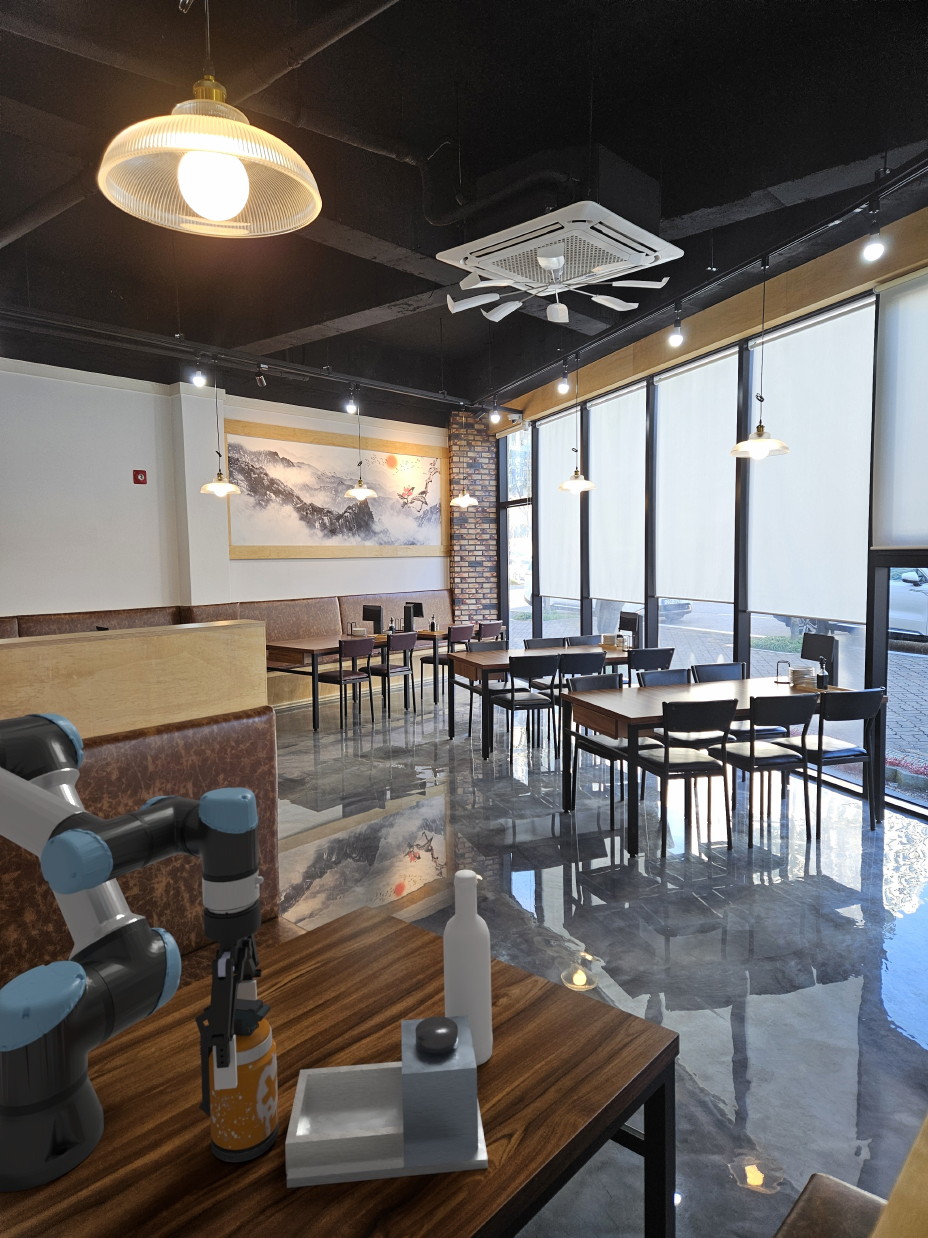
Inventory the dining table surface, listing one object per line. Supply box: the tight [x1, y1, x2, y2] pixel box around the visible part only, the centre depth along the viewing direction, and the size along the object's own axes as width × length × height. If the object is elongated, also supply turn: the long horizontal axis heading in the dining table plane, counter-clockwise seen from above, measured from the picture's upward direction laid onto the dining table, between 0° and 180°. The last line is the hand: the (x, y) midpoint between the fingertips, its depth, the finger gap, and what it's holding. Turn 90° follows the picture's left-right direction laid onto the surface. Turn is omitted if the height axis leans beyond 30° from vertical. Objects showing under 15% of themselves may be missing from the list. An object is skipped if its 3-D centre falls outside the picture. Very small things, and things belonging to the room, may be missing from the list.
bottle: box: [442, 869, 494, 1067], centre depth 116 cm, size 8×8×30 cm
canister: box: [194, 998, 279, 1163], centre depth 98 cm, size 9×11×20 cm
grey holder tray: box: [284, 1015, 489, 1189], centre depth 99 cm, size 26×16×14 cm, turn 96°
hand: (237, 1054), depth 98 cm, fingers open, 13 cm apart
